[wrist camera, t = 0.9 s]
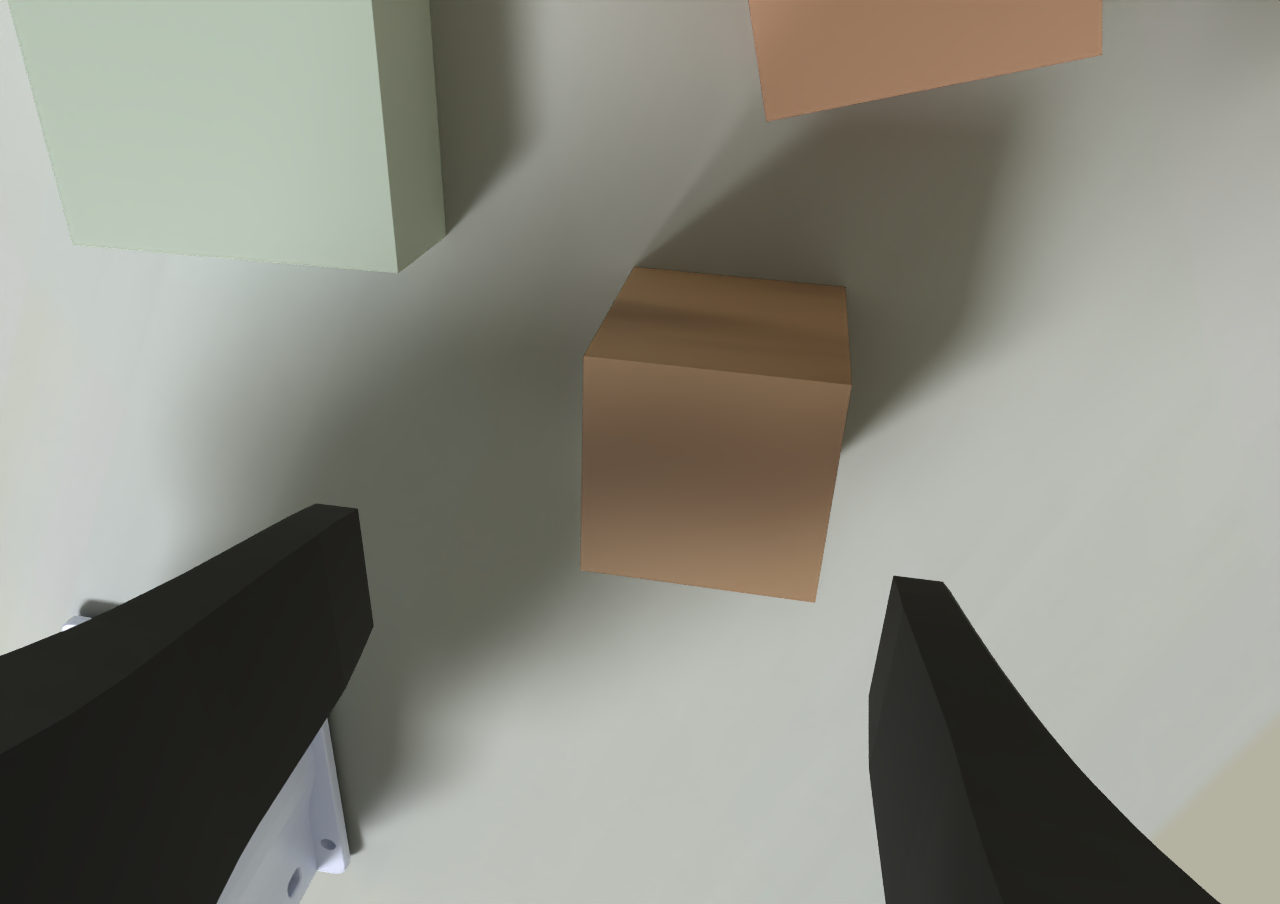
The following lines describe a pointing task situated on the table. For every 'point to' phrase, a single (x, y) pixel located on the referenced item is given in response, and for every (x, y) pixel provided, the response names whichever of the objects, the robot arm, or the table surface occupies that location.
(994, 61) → the terracotta block
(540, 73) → the table surface
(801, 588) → the walnut block
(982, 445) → the table surface
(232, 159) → the base block
